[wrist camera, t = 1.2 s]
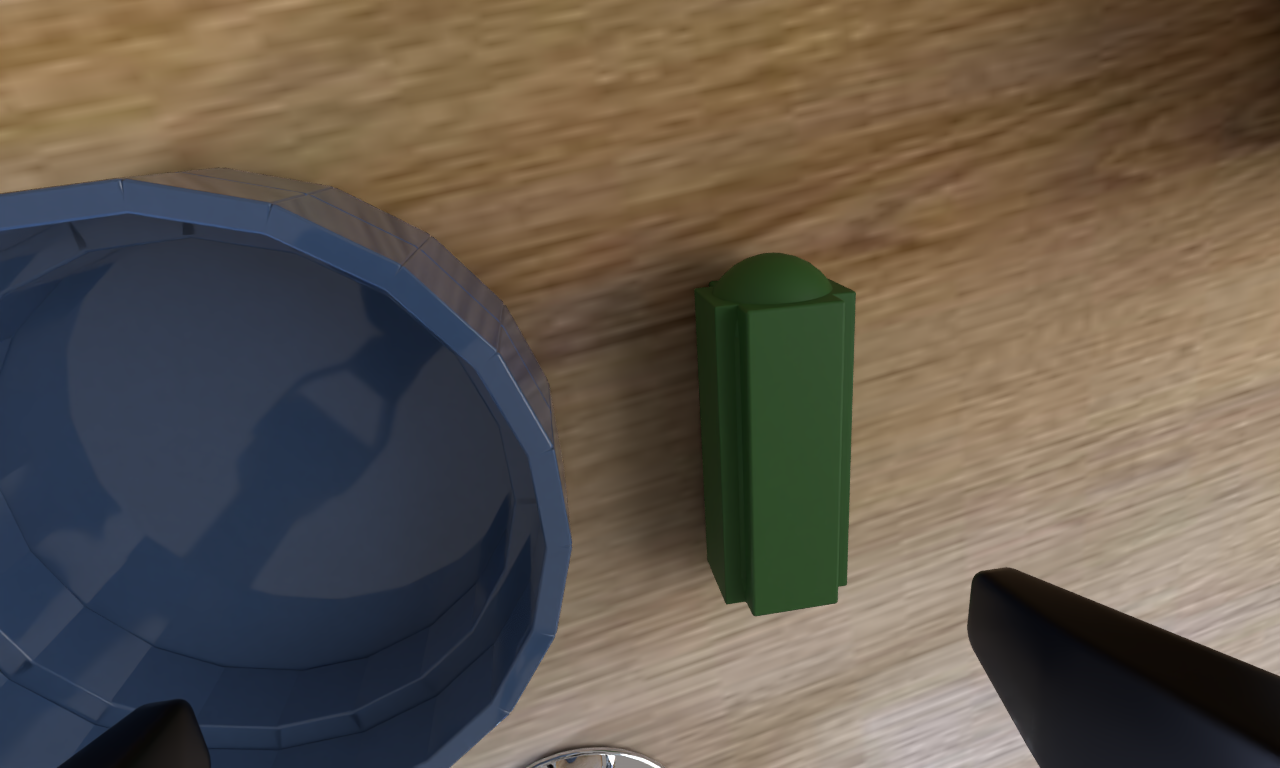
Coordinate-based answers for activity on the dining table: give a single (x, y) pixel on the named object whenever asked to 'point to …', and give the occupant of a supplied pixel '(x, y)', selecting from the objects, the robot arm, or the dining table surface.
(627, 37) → the dining table surface
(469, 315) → the bowl
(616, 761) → the wineglass
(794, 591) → the green domed grooved pillar
